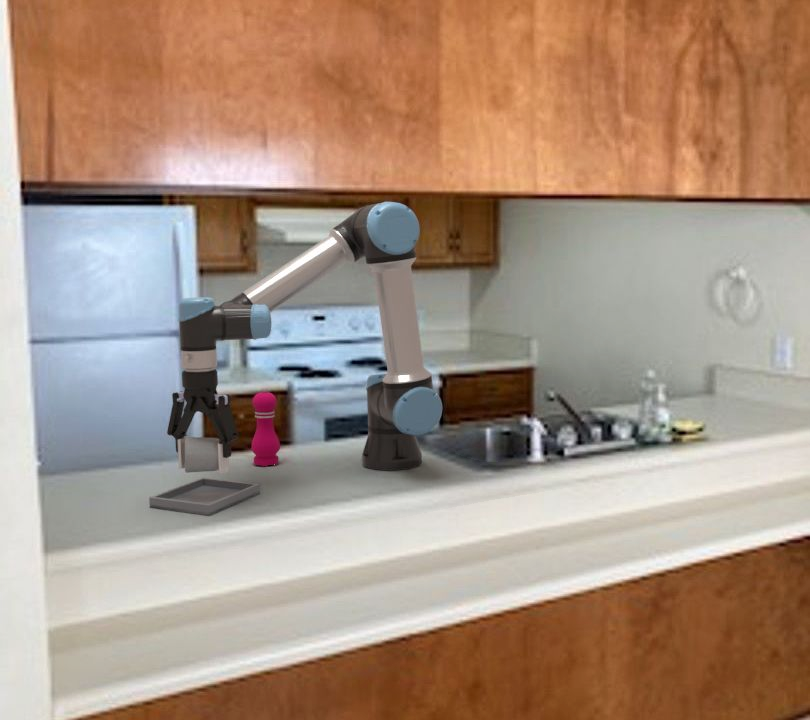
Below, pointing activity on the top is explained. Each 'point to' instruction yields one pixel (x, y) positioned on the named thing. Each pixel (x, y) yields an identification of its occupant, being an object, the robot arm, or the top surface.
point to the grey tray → (204, 496)
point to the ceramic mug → (201, 454)
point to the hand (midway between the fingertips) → (204, 469)
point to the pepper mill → (265, 429)
